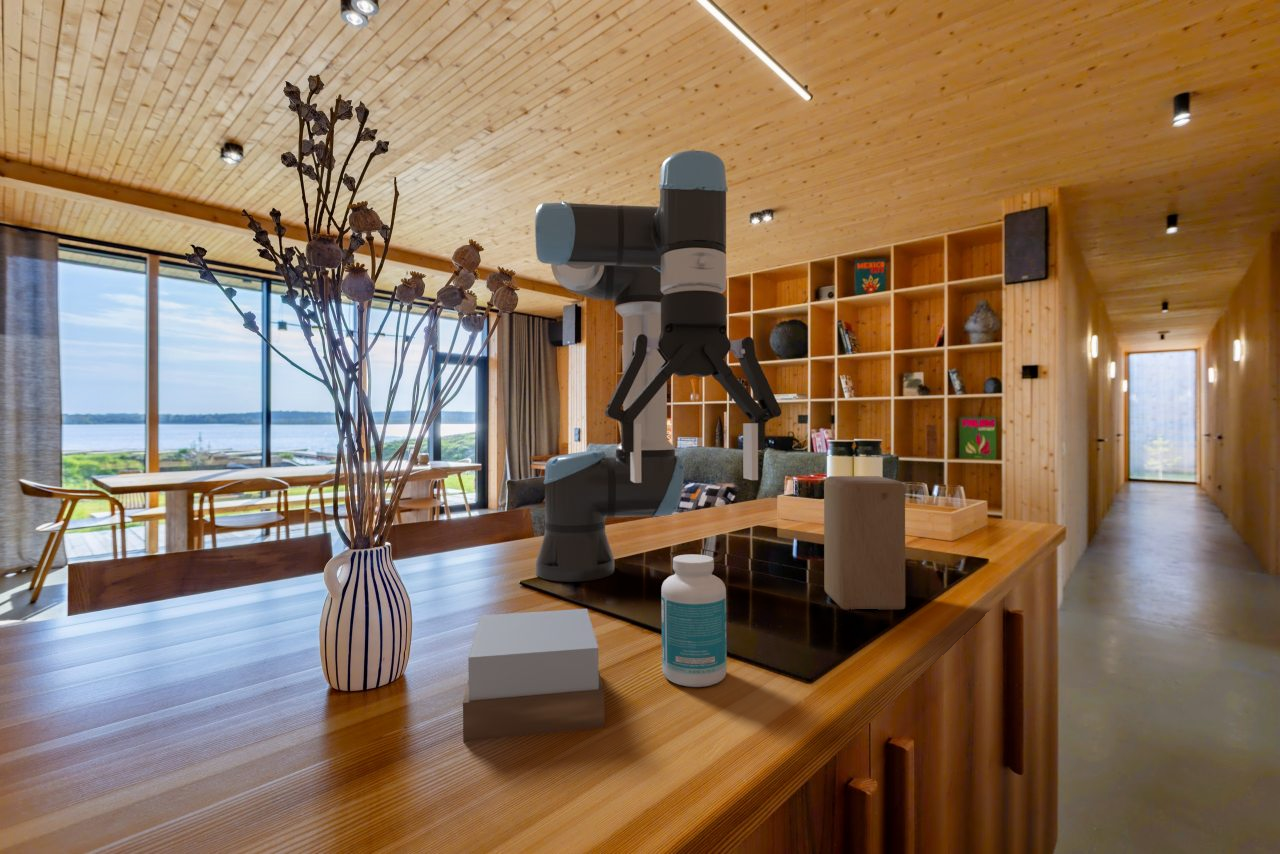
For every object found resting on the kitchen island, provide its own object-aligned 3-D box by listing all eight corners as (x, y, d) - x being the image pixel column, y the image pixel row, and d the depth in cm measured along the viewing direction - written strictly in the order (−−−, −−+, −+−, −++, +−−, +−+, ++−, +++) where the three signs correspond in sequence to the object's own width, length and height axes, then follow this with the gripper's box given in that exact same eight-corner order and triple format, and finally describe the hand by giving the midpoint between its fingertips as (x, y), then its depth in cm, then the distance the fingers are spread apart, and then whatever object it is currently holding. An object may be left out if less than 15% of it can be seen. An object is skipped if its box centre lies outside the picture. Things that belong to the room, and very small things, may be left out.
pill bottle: (740, 680, 66) (739, 560, 66) (685, 696, 62) (684, 569, 62) (701, 657, 72) (701, 548, 72) (649, 670, 69) (649, 555, 69)
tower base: (476, 684, 66) (475, 649, 66) (590, 674, 69) (590, 640, 69) (463, 746, 54) (462, 702, 54) (604, 731, 56) (604, 690, 56)
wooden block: (908, 613, 89) (907, 481, 89) (841, 612, 89) (841, 481, 89) (882, 593, 99) (881, 475, 99) (822, 593, 99) (822, 475, 99)
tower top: (480, 650, 66) (480, 615, 66) (587, 643, 68) (587, 608, 68) (468, 700, 54) (468, 657, 54) (598, 689, 56) (598, 647, 56)
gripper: (587, 282, 61) (588, 486, 61) (810, 291, 66) (810, 481, 66) (581, 298, 68) (582, 479, 69) (781, 305, 73) (782, 475, 73)
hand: (694, 480), depth 67 cm, fingers open, 13 cm apart
